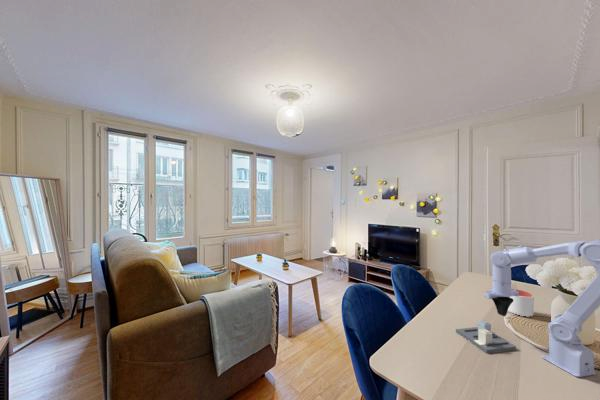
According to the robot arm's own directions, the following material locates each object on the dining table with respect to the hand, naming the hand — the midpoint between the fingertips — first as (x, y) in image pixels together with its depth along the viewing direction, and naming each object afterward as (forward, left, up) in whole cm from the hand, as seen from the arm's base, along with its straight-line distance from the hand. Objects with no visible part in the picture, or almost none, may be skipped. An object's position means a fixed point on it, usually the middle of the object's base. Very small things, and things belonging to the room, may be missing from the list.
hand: (501, 314), depth 92 cm
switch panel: (0, +8, -10) cm, 13 cm away
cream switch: (-3, +11, -8) cm, 14 cm away
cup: (+16, -30, -10) cm, 36 cm away
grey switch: (+3, +5, -8) cm, 10 cm away
